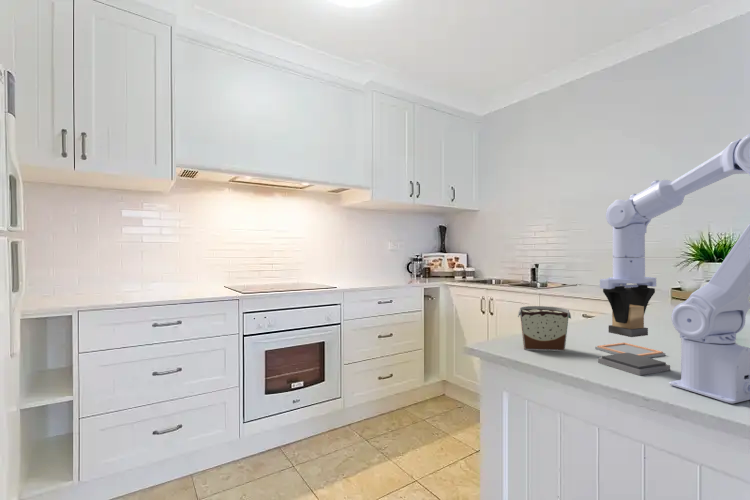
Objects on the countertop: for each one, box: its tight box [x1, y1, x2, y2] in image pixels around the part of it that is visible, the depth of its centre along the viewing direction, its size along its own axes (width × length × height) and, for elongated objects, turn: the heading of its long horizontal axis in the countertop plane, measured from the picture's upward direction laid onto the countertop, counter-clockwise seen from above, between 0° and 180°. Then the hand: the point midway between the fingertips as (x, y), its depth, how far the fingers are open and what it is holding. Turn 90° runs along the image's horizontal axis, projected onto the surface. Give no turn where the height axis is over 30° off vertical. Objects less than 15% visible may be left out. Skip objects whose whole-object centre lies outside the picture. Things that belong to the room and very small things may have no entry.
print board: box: [594, 342, 666, 359], centre depth 91 cm, size 10×10×1 cm
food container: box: [517, 305, 572, 352], centre depth 96 cm, size 12×6×10 cm, turn 82°
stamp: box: [608, 305, 649, 338], centre depth 81 cm, size 5×5×6 cm
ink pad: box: [597, 353, 671, 376], centre depth 80 cm, size 9×9×2 cm
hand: (628, 321), depth 81 cm, fingers closed on stamp, 4 cm apart
